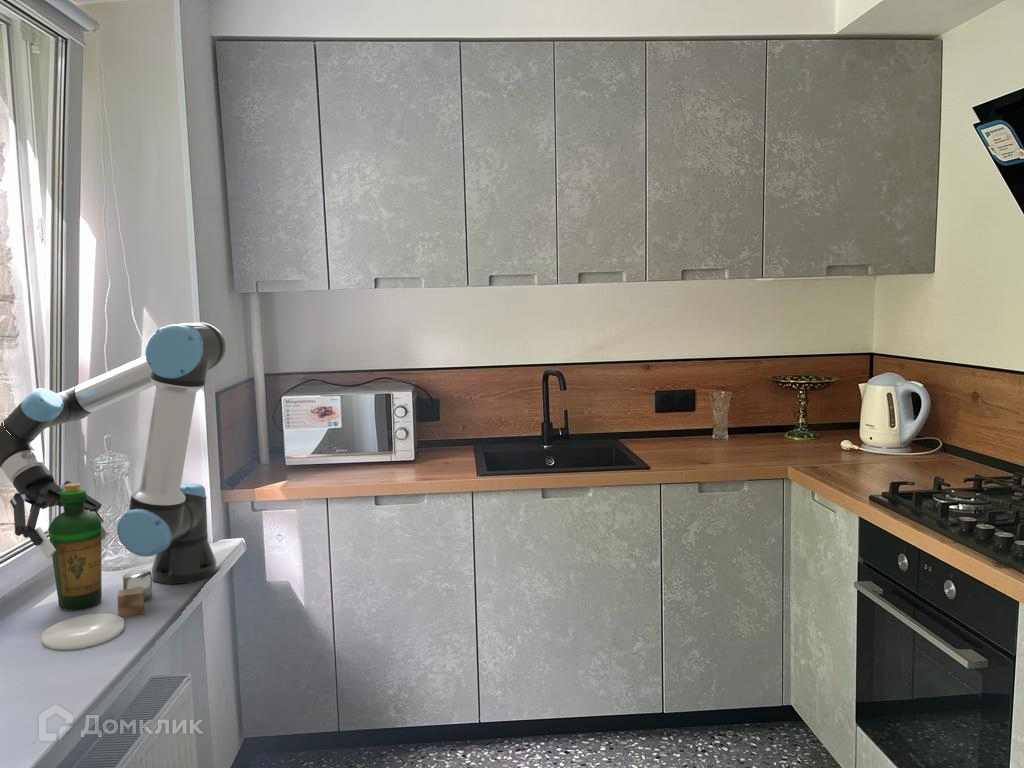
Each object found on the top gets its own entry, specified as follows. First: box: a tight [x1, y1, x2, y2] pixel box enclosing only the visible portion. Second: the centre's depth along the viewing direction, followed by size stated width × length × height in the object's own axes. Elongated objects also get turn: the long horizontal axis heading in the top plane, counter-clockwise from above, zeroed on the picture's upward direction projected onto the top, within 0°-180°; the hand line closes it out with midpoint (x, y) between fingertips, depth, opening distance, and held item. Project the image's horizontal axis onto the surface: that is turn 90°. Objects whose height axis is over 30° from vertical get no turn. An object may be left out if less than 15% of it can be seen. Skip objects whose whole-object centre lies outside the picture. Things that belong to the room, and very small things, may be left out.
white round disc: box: [41, 613, 125, 651], centre depth 161 cm, size 15×15×1 cm
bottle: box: [47, 482, 102, 611], centre depth 175 cm, size 11×11×28 cm
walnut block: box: [116, 587, 145, 619], centre depth 172 cm, size 5×4×5 cm
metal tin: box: [122, 569, 154, 604], centre depth 179 cm, size 6×6×6 cm
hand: (79, 545), depth 175 cm, fingers open, 13 cm apart
